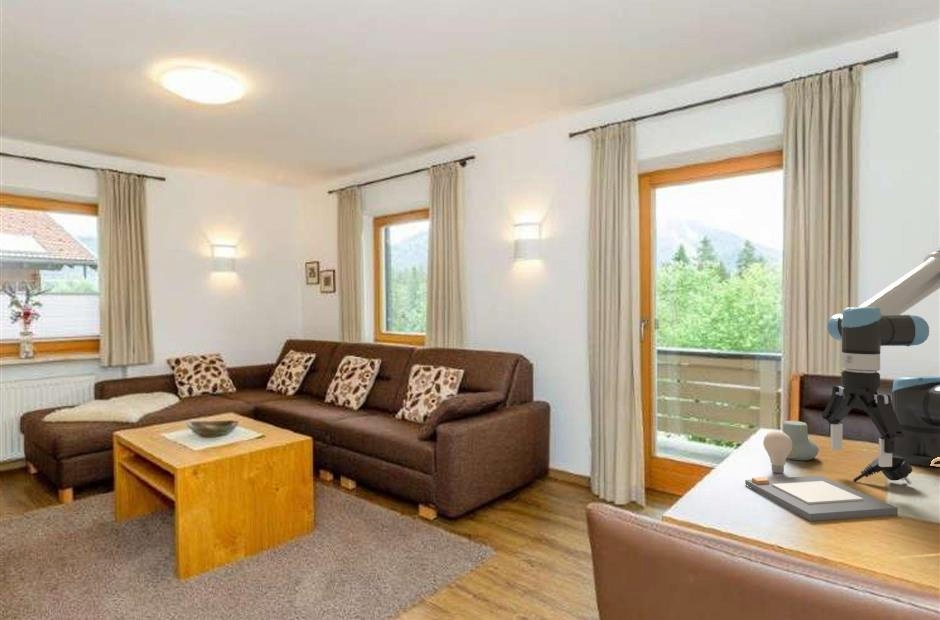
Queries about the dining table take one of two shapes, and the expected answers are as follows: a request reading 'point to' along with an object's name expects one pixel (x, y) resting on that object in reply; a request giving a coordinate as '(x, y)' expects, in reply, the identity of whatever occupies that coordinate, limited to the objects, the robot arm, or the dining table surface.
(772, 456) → the light bulb
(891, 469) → the power plug
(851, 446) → the dining table surface
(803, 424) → the air freshener
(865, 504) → the socket board
